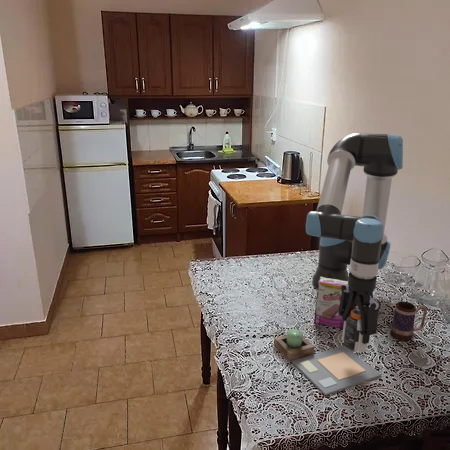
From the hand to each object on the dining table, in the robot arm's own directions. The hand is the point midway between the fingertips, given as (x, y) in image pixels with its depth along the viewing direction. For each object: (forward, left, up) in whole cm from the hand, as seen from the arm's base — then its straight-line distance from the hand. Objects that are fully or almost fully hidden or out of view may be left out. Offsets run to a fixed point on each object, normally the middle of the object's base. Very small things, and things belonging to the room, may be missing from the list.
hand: (353, 345), depth 127 cm
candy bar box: (-9, -21, -7) cm, 24 cm away
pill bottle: (0, 0, 0) cm, 0 cm away
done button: (+12, -13, -4) cm, 18 cm away
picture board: (+6, 0, -7) cm, 9 cm away
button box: (+12, -13, -7) cm, 19 cm away
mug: (-27, -4, -7) cm, 28 cm away
